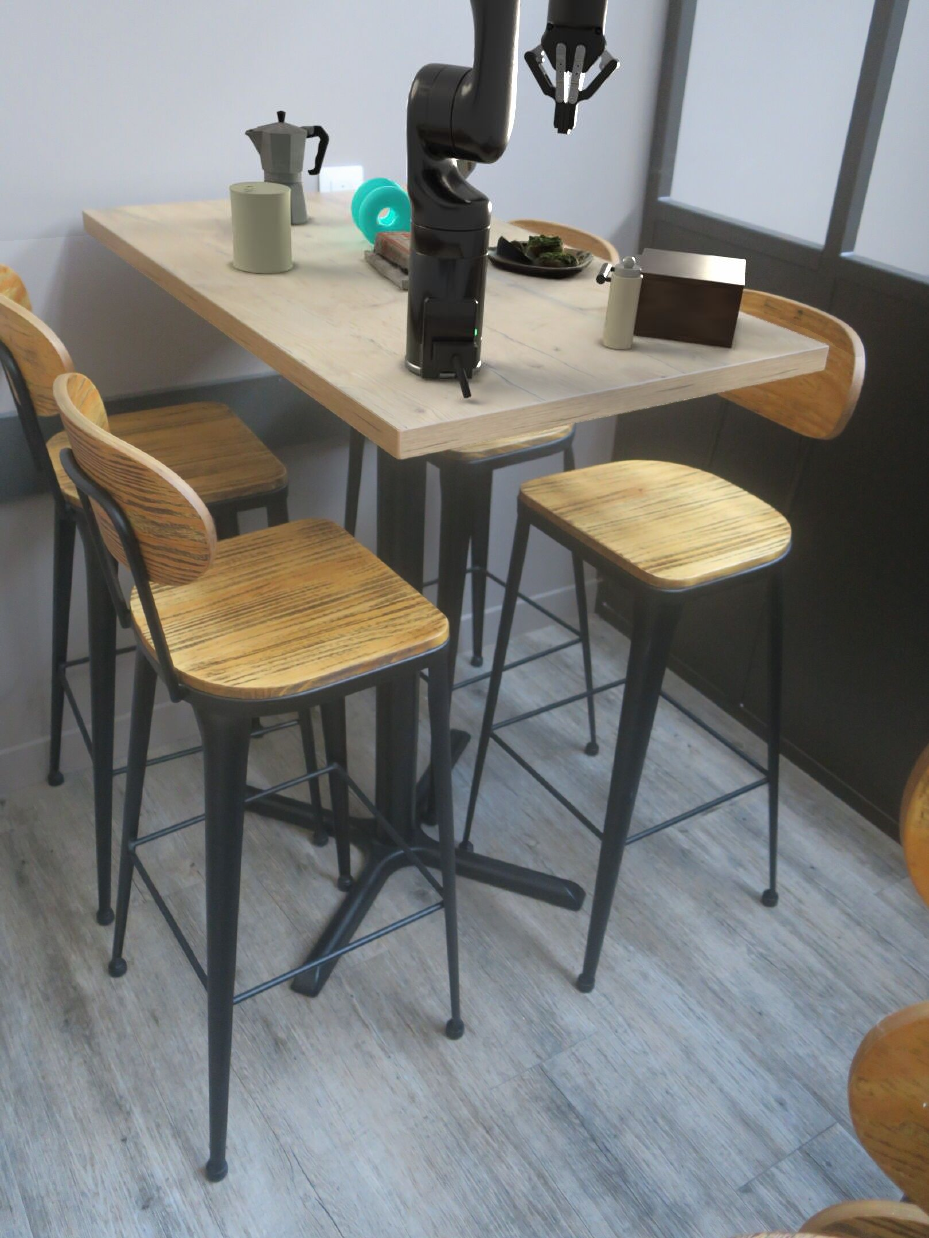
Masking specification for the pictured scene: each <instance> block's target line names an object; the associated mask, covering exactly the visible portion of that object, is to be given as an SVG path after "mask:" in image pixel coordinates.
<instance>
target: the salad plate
mask: <svg viewBox="0 0 929 1238" xmlns="http://www.w3.org/2000/svg"><path fill="white" fill-rule="evenodd" d="M594 260H595V255H594V254H593V253H592V252H589V251H587V250H584V249H580V248H579V249H577V248H568V247H565V245H564V241H563V237H560V236H559V235H556V236H554V234H549V235H548V236H546V235H545V234H544V233H541V234H540V235H529V236H528V240H515V239H514V240H511V241H510V240H508V239H507V238H506V237H505V236H503V235H501V236H500V237H498V240H497V243H496V246H489V250H488V261H489V262H490V264H491V265H492V266H493V267H494V268H496V269H499V270H501V271H505V272H510V273H515V274H519V275H523V276H528V277H535V278H542V279H565V278H566V279H567V278H570V277H573V276H575V275H577V274H579V273H580V272H582V271H583V270H584V269H586V268H588V266H589V265H590V264H591V263H592V262H593V261H594Z"/></svg>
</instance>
